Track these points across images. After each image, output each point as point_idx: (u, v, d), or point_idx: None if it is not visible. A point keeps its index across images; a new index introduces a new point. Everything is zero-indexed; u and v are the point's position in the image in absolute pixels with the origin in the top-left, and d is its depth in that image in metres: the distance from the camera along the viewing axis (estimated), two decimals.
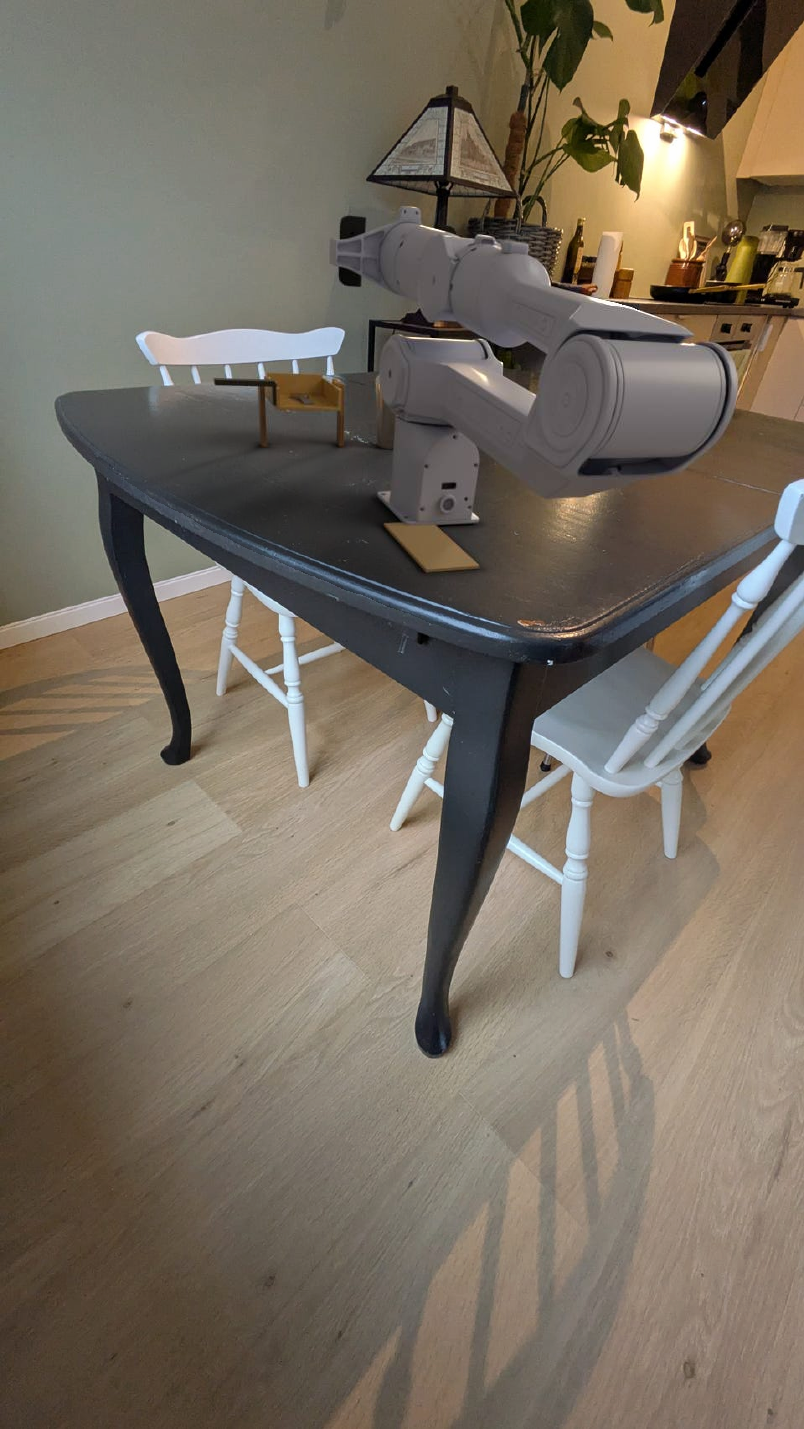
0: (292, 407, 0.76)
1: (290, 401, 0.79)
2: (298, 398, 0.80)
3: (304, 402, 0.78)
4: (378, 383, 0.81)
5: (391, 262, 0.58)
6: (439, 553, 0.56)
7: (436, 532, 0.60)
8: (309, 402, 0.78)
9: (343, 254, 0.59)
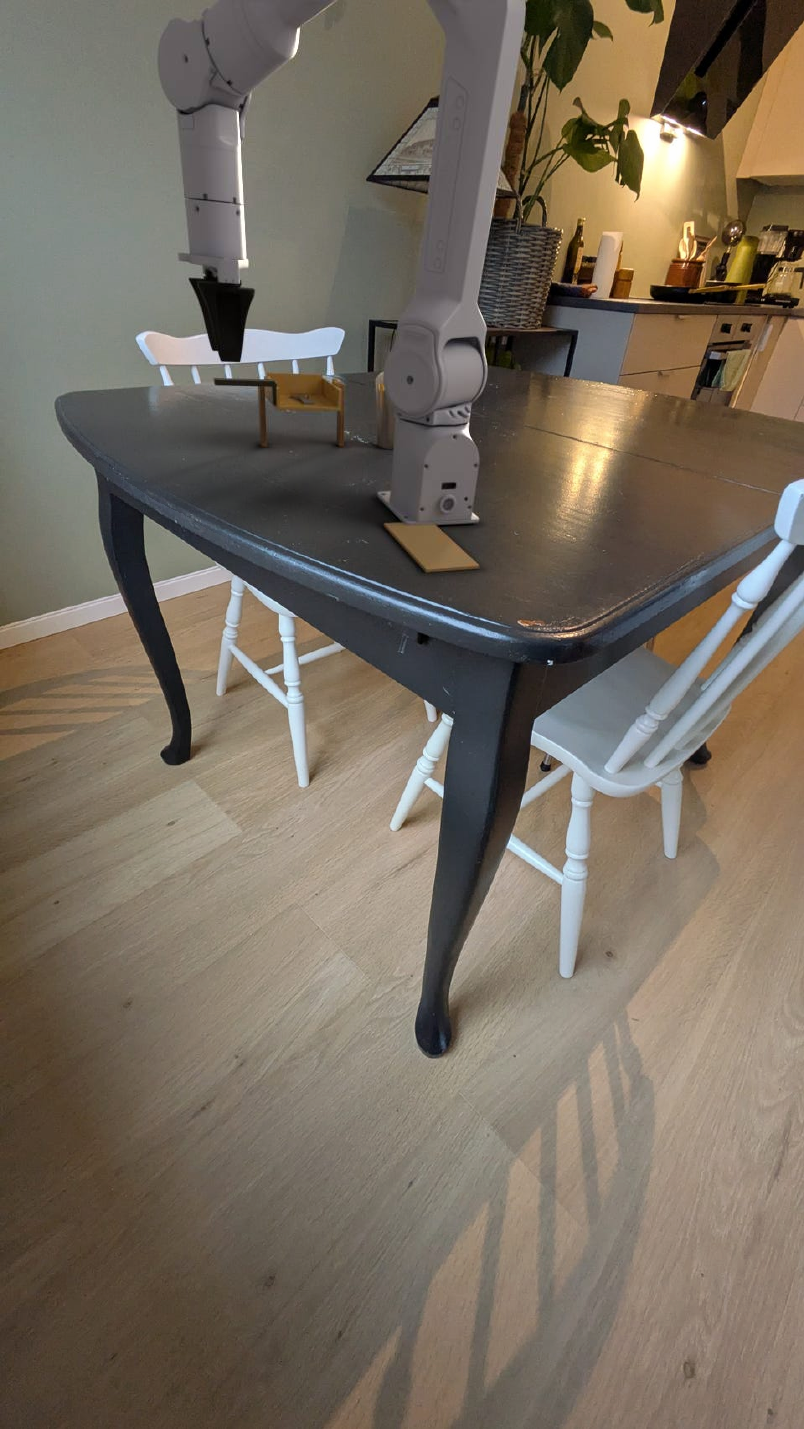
0: (292, 407, 0.76)
1: (290, 401, 0.79)
2: (298, 398, 0.80)
3: (304, 402, 0.78)
4: (378, 383, 0.81)
5: (218, 212, 0.62)
6: (439, 553, 0.56)
7: (436, 532, 0.60)
8: (309, 402, 0.78)
9: None
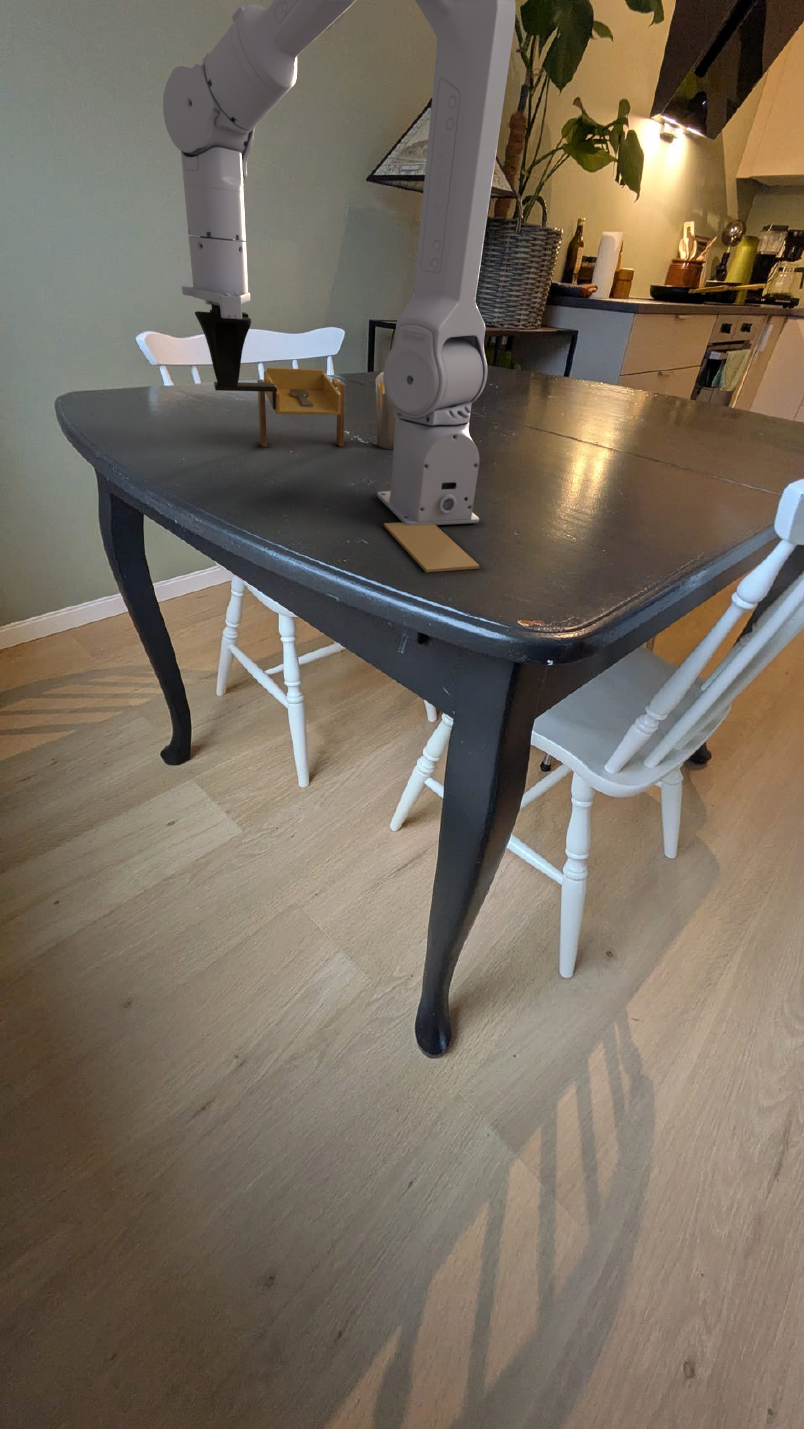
0: (291, 411, 0.77)
1: (289, 401, 0.79)
2: (297, 397, 0.80)
3: (303, 404, 0.78)
4: (378, 383, 0.81)
5: (222, 249, 0.64)
6: (439, 553, 0.56)
7: (436, 532, 0.60)
8: (308, 404, 0.78)
9: (229, 295, 0.63)
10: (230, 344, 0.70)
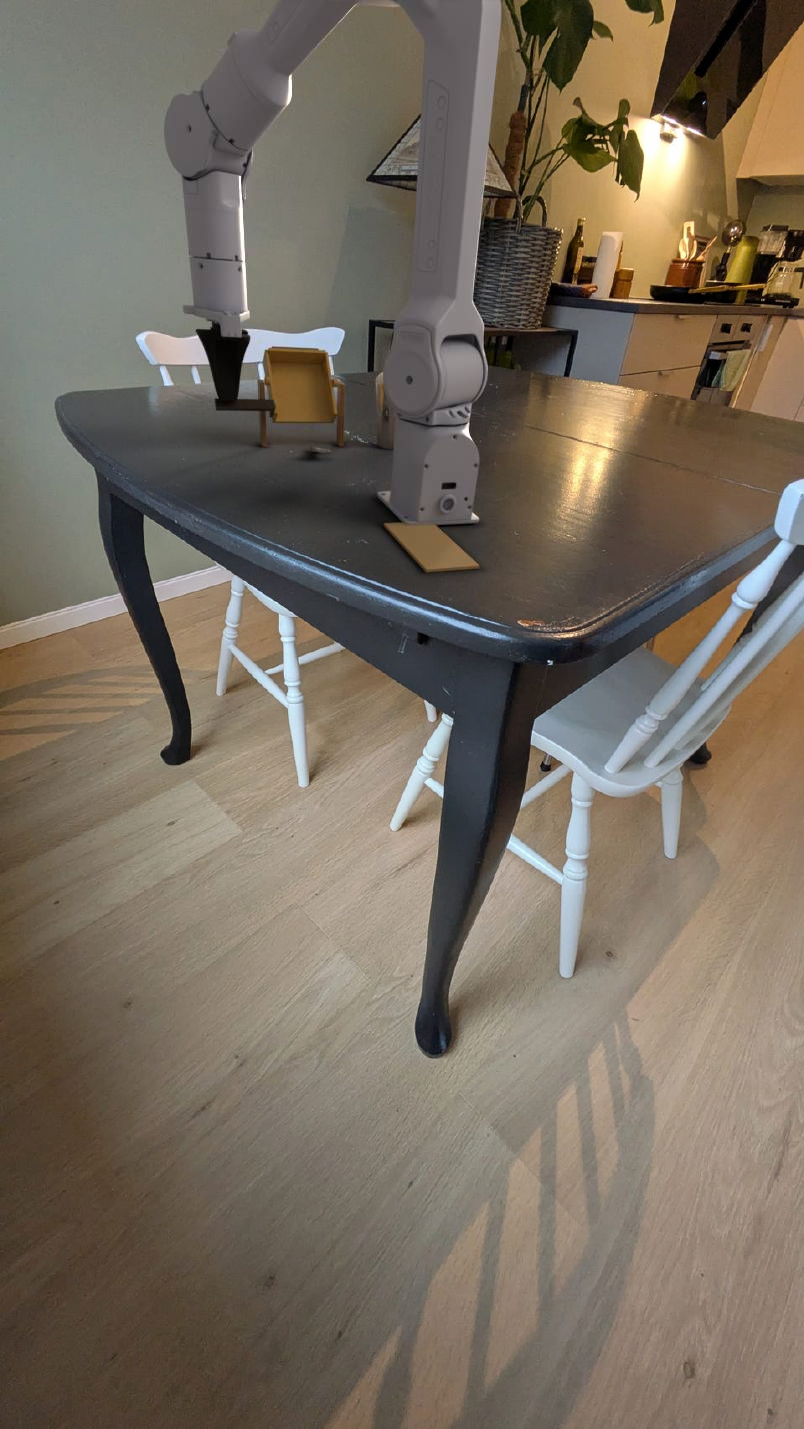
0: (287, 421, 0.80)
1: (287, 397, 0.80)
2: None
3: None
4: (378, 383, 0.81)
5: (221, 269, 0.65)
6: (439, 553, 0.56)
7: (436, 532, 0.60)
8: None
9: (229, 315, 0.65)
10: (230, 360, 0.72)
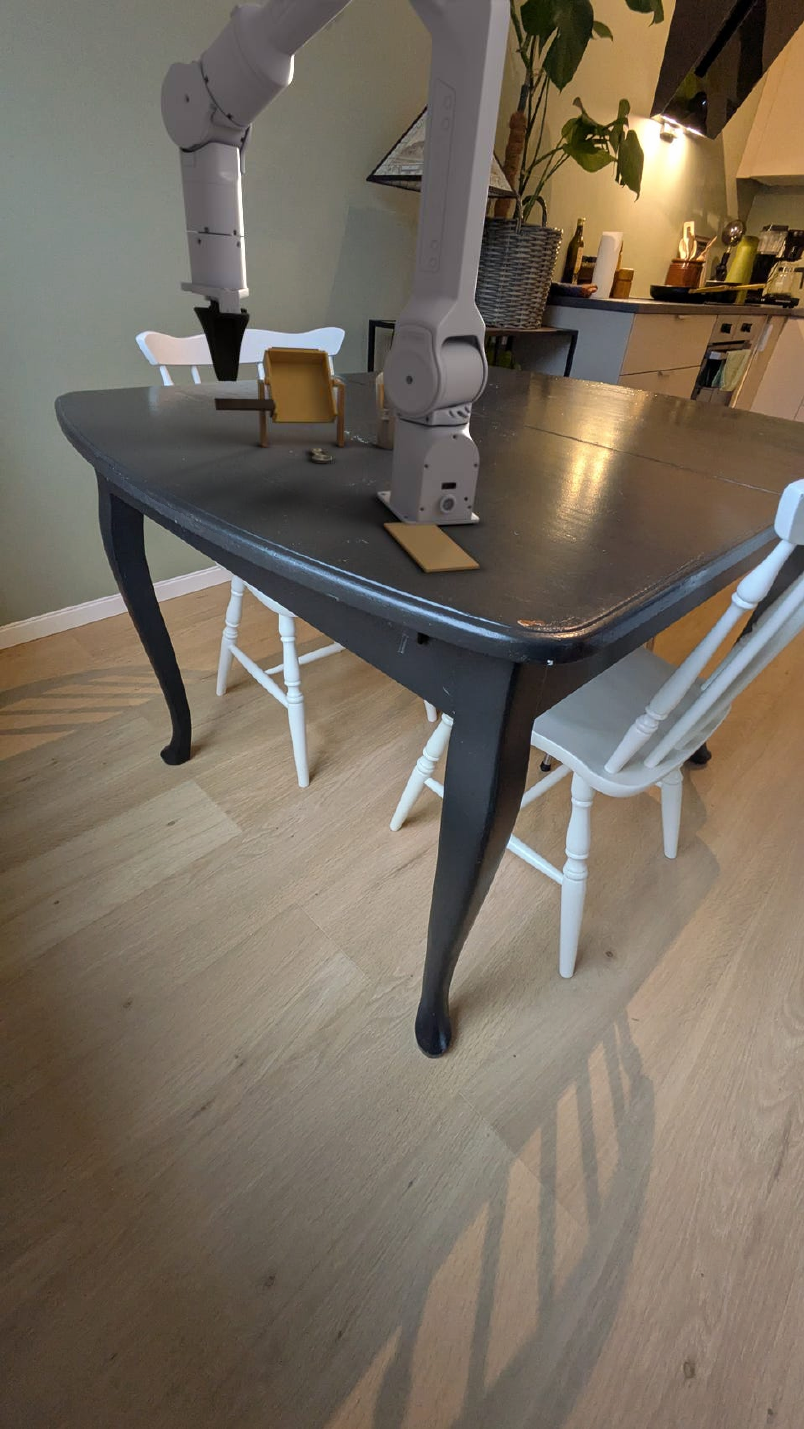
0: (287, 421, 0.80)
1: (287, 397, 0.80)
2: None
3: None
4: (378, 383, 0.81)
5: (220, 244, 0.64)
6: (439, 553, 0.56)
7: (436, 532, 0.60)
8: None
9: None
10: (229, 339, 0.71)
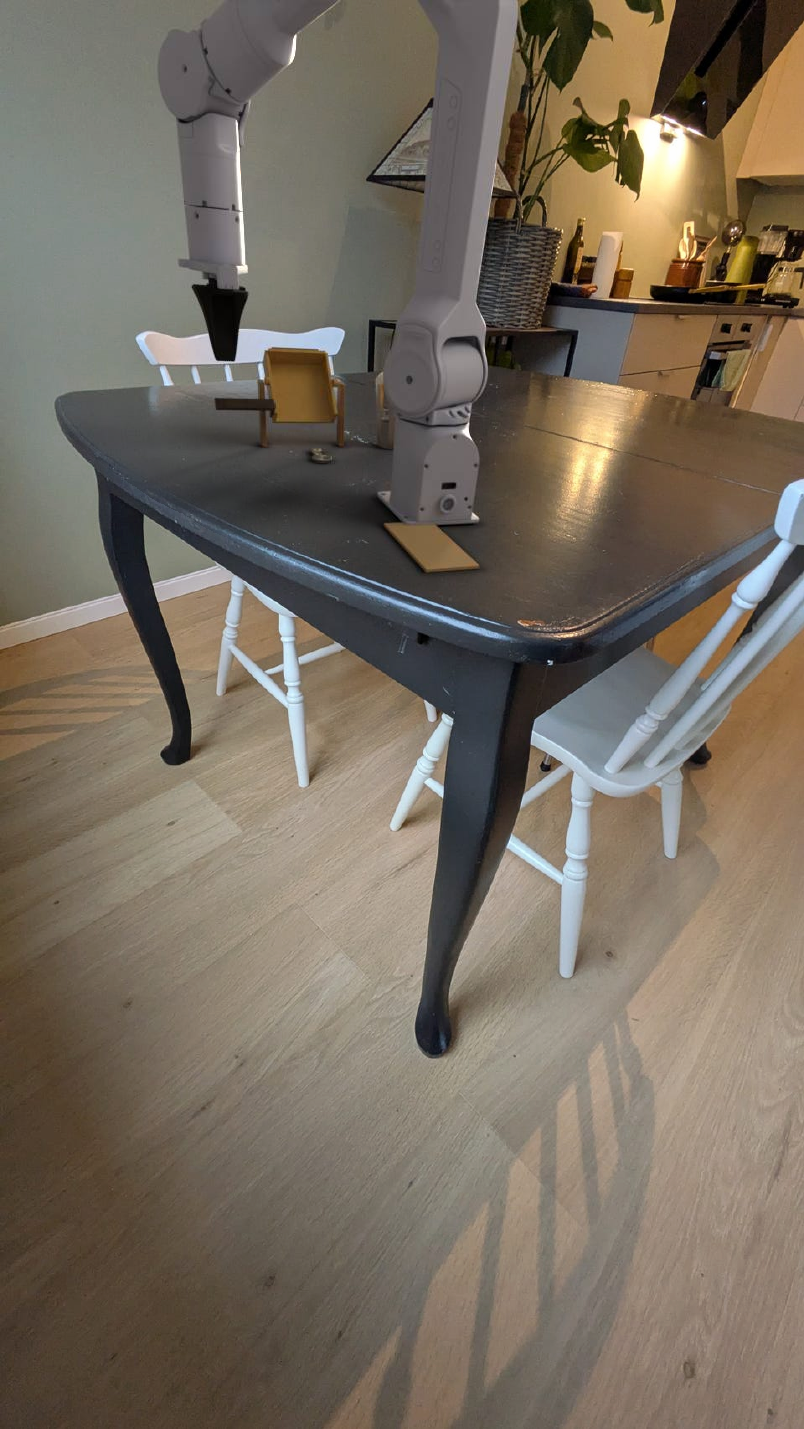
0: (287, 421, 0.80)
1: (287, 397, 0.80)
2: None
3: None
4: (378, 383, 0.81)
5: (218, 219, 0.63)
6: (439, 553, 0.56)
7: (436, 532, 0.60)
8: None
9: (226, 265, 0.62)
10: (227, 318, 0.69)
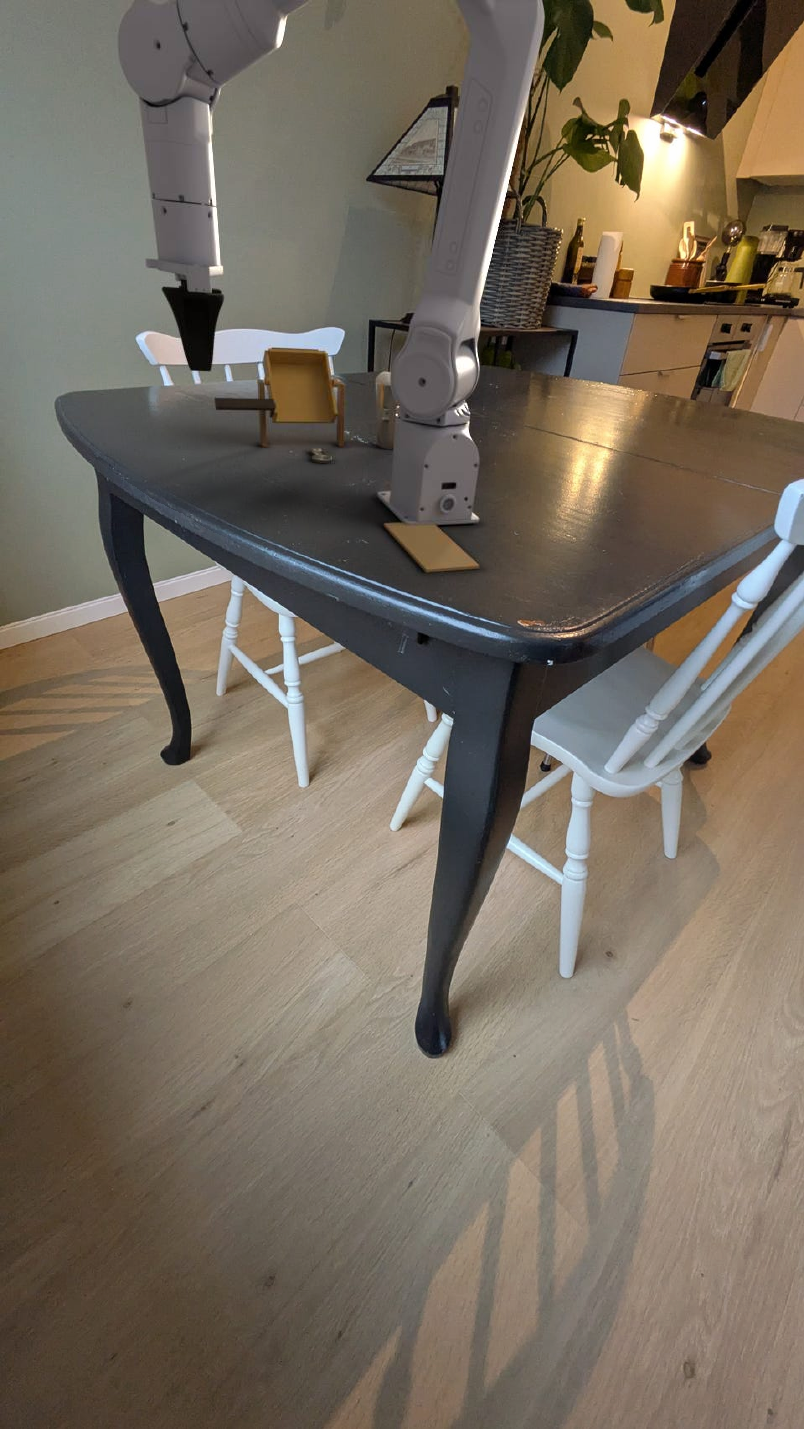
0: (287, 421, 0.80)
1: (287, 397, 0.80)
2: None
3: None
4: (378, 383, 0.81)
5: (188, 214, 0.56)
6: (439, 553, 0.56)
7: (436, 532, 0.60)
8: None
9: (197, 266, 0.56)
10: (201, 324, 0.63)
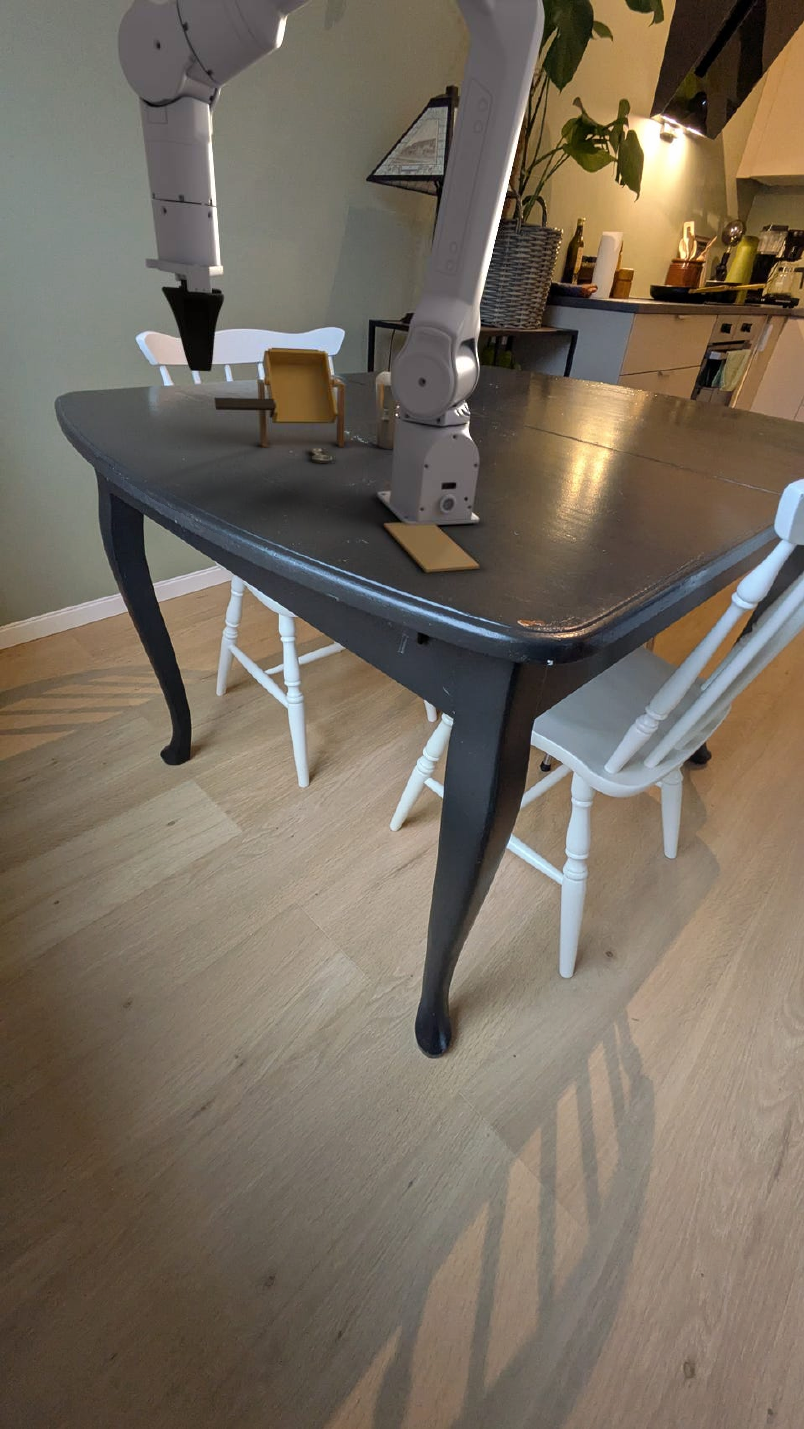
0: (287, 421, 0.80)
1: (287, 398, 0.80)
2: None
3: None
4: (378, 383, 0.81)
5: (188, 214, 0.56)
6: (439, 553, 0.56)
7: (436, 532, 0.60)
8: None
9: (197, 266, 0.56)
10: (201, 324, 0.63)
